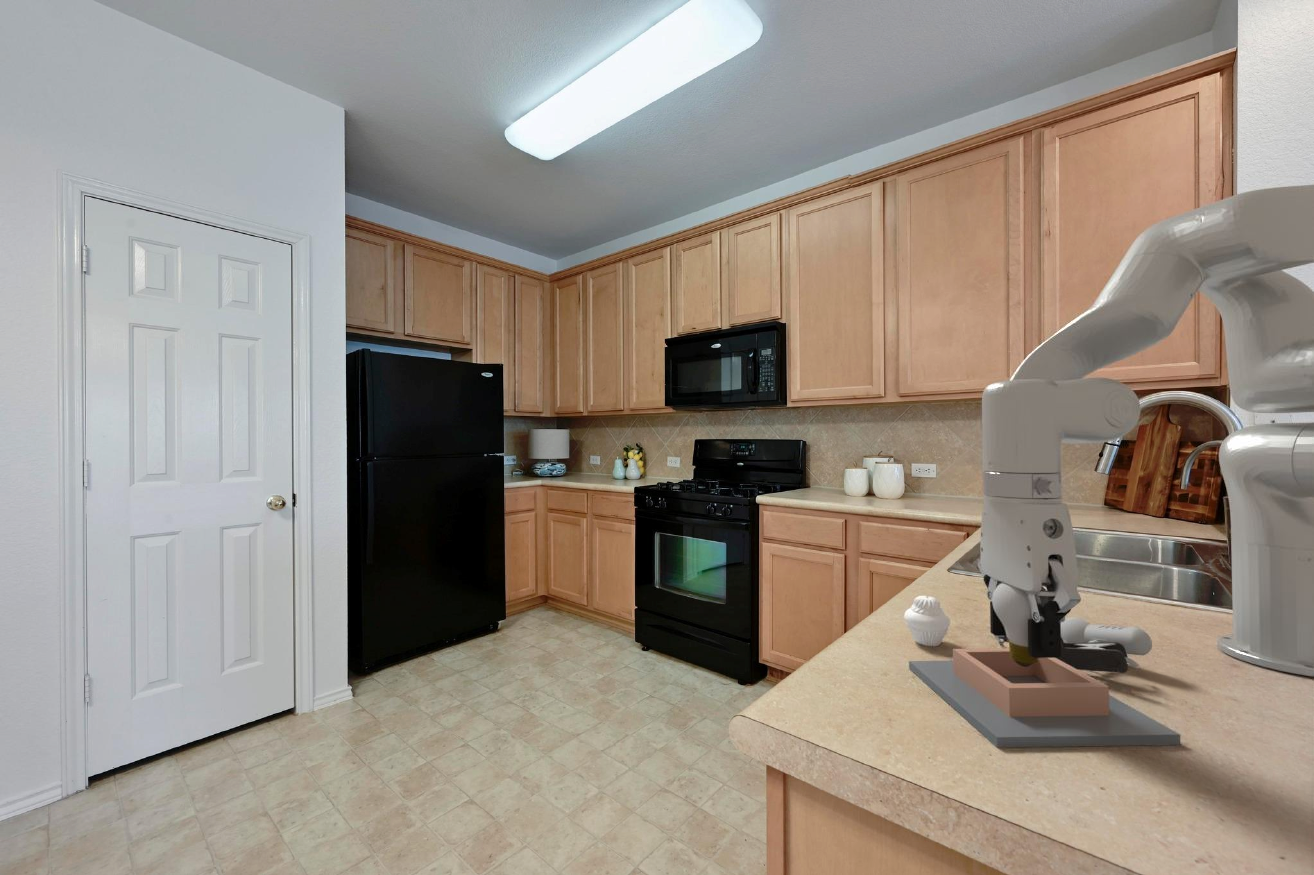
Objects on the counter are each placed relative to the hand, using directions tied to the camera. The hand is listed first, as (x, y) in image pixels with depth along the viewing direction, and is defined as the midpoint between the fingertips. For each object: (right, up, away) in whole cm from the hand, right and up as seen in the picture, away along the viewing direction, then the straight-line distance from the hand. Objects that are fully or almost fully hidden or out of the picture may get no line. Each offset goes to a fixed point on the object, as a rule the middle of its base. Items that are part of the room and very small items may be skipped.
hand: (1023, 643), depth 61 cm
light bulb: (0, -3, 0) cm, 3 cm away
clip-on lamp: (+13, -7, +12) cm, 19 cm away
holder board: (0, -7, 0) cm, 7 cm away
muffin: (-2, -7, +18) cm, 19 cm away
